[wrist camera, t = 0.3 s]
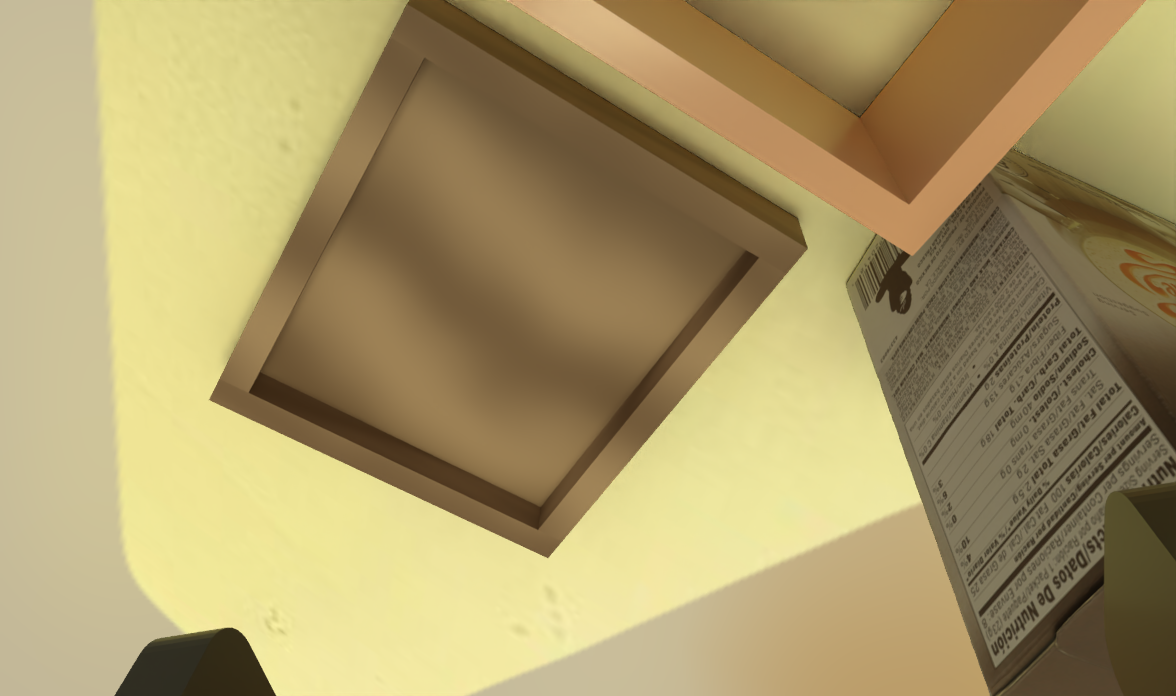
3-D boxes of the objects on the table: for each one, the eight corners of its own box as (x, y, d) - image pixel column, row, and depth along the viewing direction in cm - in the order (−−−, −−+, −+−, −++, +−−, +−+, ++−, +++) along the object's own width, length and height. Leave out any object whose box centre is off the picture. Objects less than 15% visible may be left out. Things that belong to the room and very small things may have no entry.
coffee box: (1202, 226, 30) (1671, 646, 16) (1070, 383, 33) (1370, 840, 20) (943, 112, 28) (1227, 474, 15) (831, 290, 32) (980, 718, 18)
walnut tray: (420, -15, 27) (406, 3, 25) (797, 219, 30) (807, 248, 29) (230, 366, 34) (209, 400, 32) (551, 520, 37) (547, 557, 36)
